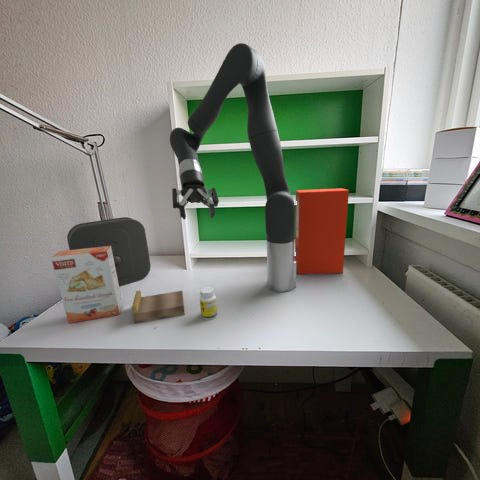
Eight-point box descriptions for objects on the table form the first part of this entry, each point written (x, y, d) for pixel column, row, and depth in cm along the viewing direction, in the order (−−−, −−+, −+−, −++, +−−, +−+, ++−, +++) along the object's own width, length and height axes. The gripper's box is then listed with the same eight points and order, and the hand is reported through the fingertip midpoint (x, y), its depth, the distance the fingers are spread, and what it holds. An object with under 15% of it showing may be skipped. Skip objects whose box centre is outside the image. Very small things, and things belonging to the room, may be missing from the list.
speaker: (146, 271, 108) (137, 215, 101) (153, 277, 102) (144, 217, 95) (79, 291, 93) (63, 225, 86) (83, 299, 87) (66, 229, 80)
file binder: (343, 273, 97) (348, 190, 88) (298, 274, 98) (299, 192, 89) (336, 265, 104) (340, 188, 96) (294, 267, 105) (295, 190, 97)
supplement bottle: (199, 313, 74) (197, 287, 72) (215, 309, 76) (212, 284, 74) (203, 321, 70) (200, 295, 68) (219, 317, 72) (217, 291, 69)
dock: (183, 298, 84) (181, 284, 82) (184, 314, 74) (182, 298, 73) (139, 306, 80) (136, 291, 79) (134, 323, 71) (131, 306, 69)
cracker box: (67, 325, 72) (49, 256, 66) (75, 314, 78) (58, 250, 72) (120, 315, 75) (106, 250, 70) (123, 305, 81) (111, 244, 75)
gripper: (169, 168, 77) (175, 211, 71) (213, 168, 82) (223, 209, 75) (169, 184, 84) (174, 225, 77) (210, 183, 88) (218, 222, 82)
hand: (198, 217), depth 76 cm, fingers open, 8 cm apart
